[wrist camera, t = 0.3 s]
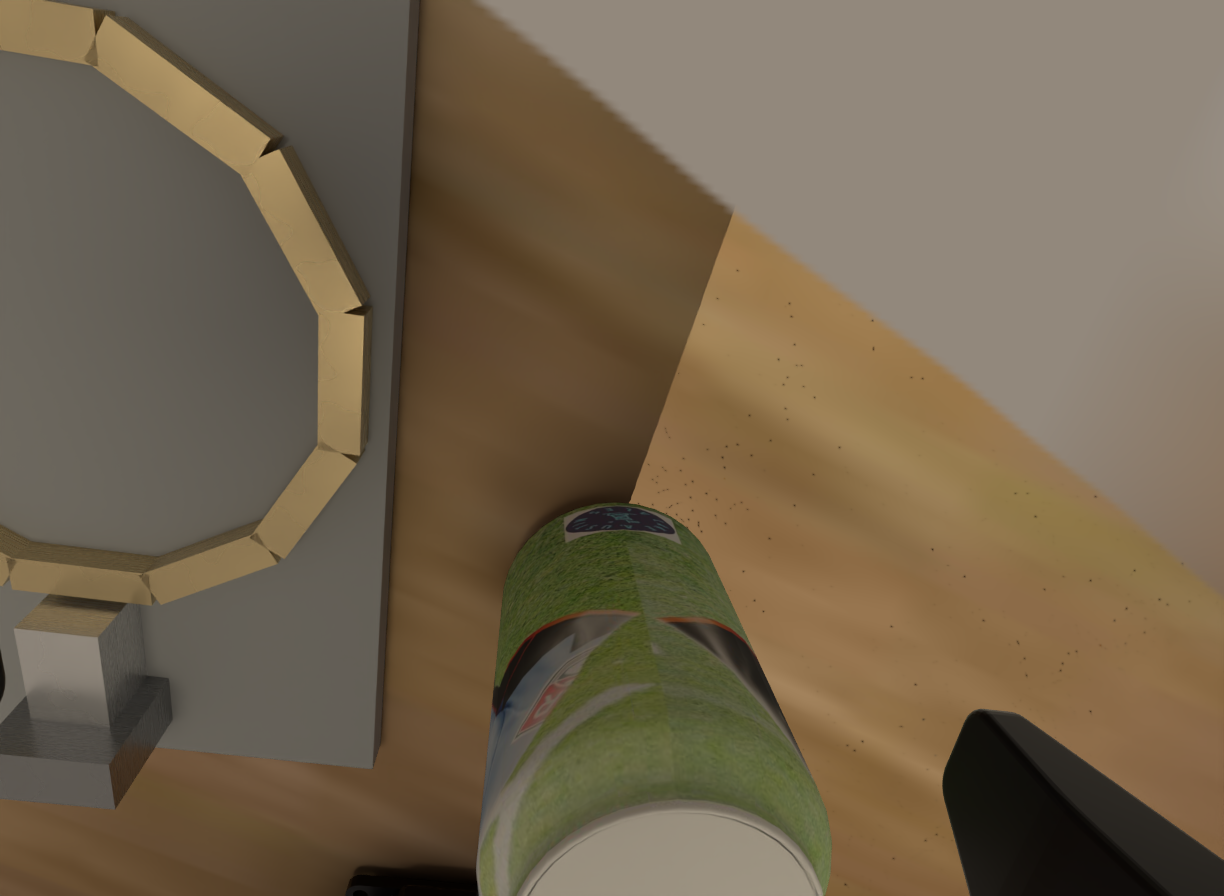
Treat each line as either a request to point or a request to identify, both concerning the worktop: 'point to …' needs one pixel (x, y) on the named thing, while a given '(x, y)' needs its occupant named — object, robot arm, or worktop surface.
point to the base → (208, 356)
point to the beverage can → (637, 728)
